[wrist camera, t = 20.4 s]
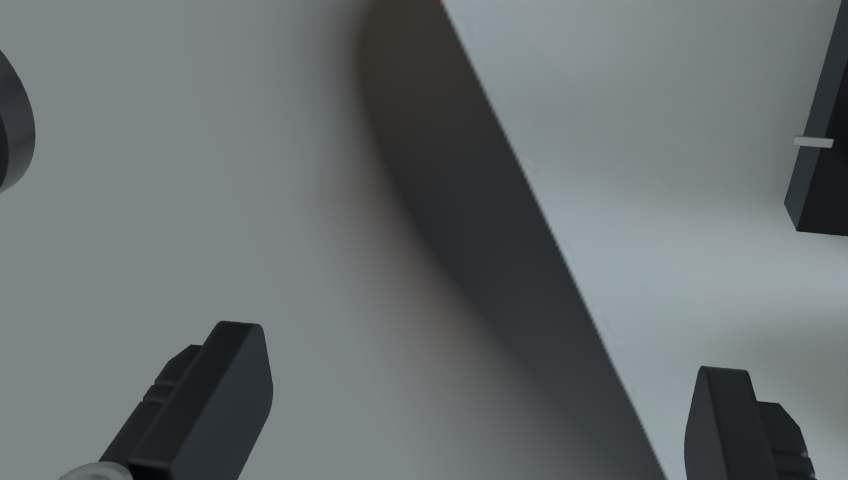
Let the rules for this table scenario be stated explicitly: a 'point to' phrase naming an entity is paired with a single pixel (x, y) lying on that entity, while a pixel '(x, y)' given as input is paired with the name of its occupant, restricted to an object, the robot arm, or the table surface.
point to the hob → (824, 146)
